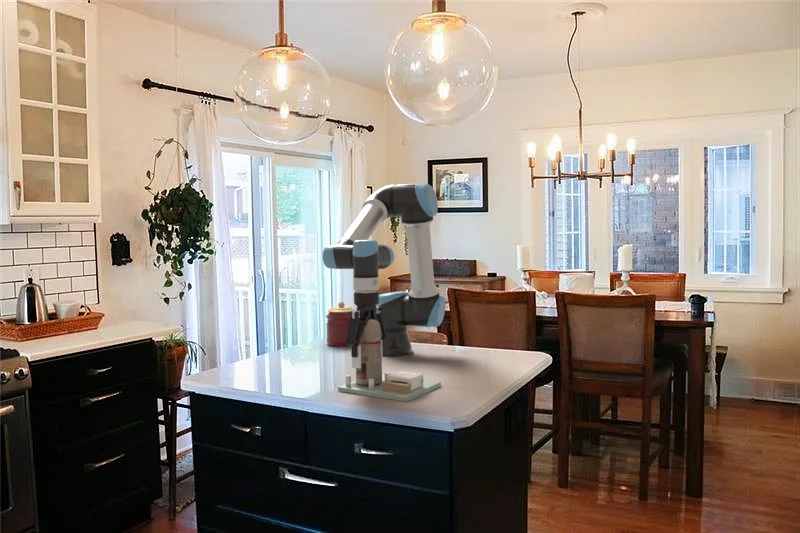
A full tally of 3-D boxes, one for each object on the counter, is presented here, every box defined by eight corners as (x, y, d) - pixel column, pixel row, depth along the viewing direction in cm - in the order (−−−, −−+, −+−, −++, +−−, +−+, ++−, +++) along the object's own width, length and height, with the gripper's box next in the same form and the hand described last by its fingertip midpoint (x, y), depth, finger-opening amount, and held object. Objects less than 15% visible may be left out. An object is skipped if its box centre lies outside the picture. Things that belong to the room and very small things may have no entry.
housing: (387, 387, 194) (387, 375, 193) (400, 382, 199) (400, 371, 199) (410, 390, 189) (410, 378, 189) (423, 385, 195) (423, 373, 195)
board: (338, 390, 196) (337, 377, 196) (376, 377, 213) (375, 364, 213) (406, 401, 183) (406, 386, 183) (441, 386, 200) (440, 372, 200)
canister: (323, 342, 277) (322, 300, 276) (352, 340, 281) (352, 299, 280) (330, 347, 265) (329, 304, 264) (361, 345, 269) (360, 302, 268)
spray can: (351, 382, 202) (349, 317, 200) (376, 379, 205) (374, 315, 204) (361, 388, 194) (359, 321, 192) (386, 385, 197) (385, 318, 196)
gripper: (353, 295, 185) (355, 373, 187) (397, 288, 205) (398, 358, 206) (332, 294, 189) (334, 370, 191) (377, 287, 209) (378, 356, 210)
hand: (367, 364), depth 198 cm, fingers open, 10 cm apart
